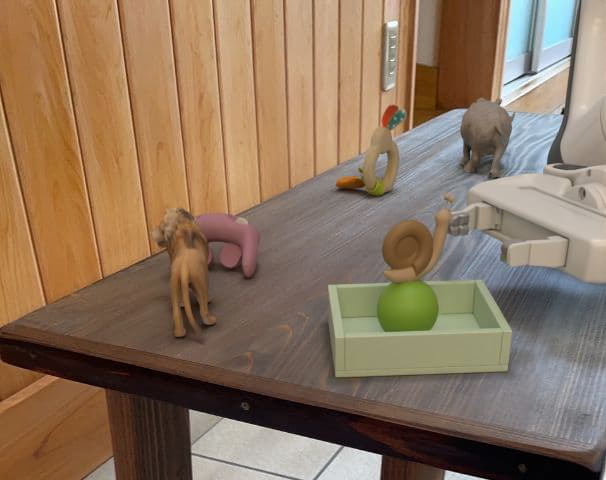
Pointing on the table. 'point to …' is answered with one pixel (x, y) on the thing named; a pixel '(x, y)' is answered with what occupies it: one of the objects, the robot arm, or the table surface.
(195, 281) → the lion figurine
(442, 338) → the tray
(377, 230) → the table surface
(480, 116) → the rhinoceros figurine
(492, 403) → the table surface
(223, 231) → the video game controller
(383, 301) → the snail figurine
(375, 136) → the rattle
